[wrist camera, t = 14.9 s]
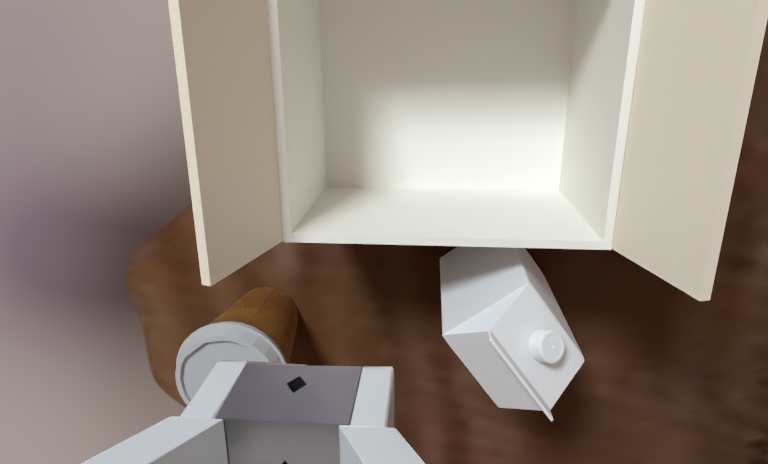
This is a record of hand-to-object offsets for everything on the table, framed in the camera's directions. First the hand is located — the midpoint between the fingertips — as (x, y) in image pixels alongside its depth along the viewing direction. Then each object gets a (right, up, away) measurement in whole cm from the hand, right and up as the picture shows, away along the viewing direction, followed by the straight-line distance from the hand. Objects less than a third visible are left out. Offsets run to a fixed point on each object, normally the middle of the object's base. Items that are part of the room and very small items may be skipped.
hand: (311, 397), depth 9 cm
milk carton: (+11, 0, +43) cm, 44 cm away
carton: (+6, +16, +38) cm, 41 cm away
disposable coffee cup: (-10, -5, +47) cm, 48 cm away
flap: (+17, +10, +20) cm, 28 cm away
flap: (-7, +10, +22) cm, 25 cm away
